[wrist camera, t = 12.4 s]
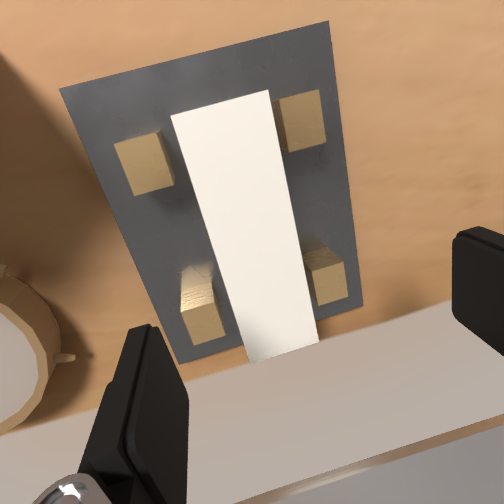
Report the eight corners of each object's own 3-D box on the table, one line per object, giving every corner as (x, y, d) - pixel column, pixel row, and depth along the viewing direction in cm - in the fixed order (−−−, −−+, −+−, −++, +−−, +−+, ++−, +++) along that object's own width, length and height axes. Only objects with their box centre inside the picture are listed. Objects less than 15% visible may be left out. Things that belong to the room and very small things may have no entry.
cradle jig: (321, 25, 18) (350, 4, 15) (357, 298, 25) (381, 324, 22) (65, 90, 17) (37, 83, 14) (179, 355, 24) (178, 391, 21)
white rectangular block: (247, 97, 18) (268, 89, 13) (292, 297, 23) (319, 342, 18) (174, 116, 17) (170, 115, 13) (237, 314, 23) (250, 364, 18)
